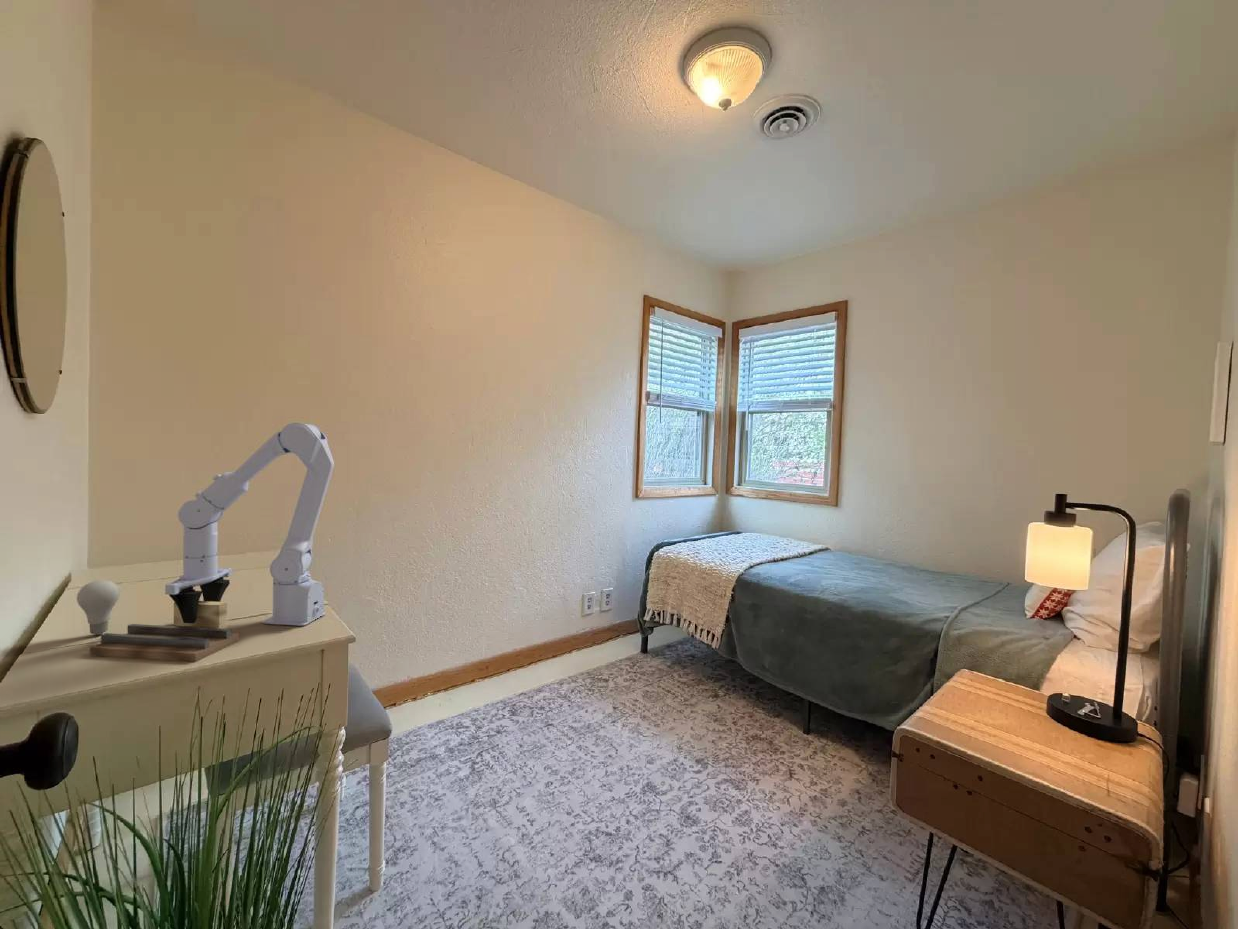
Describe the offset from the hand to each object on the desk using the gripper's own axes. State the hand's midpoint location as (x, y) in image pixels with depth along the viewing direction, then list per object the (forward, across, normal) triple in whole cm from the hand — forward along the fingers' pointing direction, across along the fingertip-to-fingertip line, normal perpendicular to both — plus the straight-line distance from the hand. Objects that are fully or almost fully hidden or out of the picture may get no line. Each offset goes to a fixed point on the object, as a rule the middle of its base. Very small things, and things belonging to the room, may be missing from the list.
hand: (200, 618), depth 111 cm
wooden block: (+2, 0, 0) cm, 2 cm away
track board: (+1, +12, +4) cm, 13 cm away
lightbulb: (+2, +8, -14) cm, 16 cm away
